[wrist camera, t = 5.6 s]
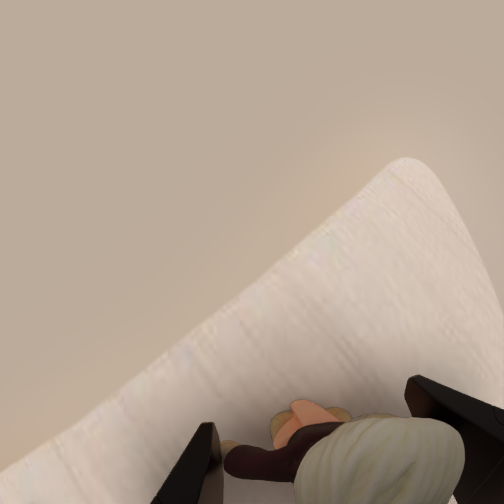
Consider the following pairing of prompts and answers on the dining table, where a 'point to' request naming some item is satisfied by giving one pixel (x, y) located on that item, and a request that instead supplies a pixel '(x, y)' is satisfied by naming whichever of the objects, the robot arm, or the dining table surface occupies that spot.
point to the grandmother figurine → (354, 457)
